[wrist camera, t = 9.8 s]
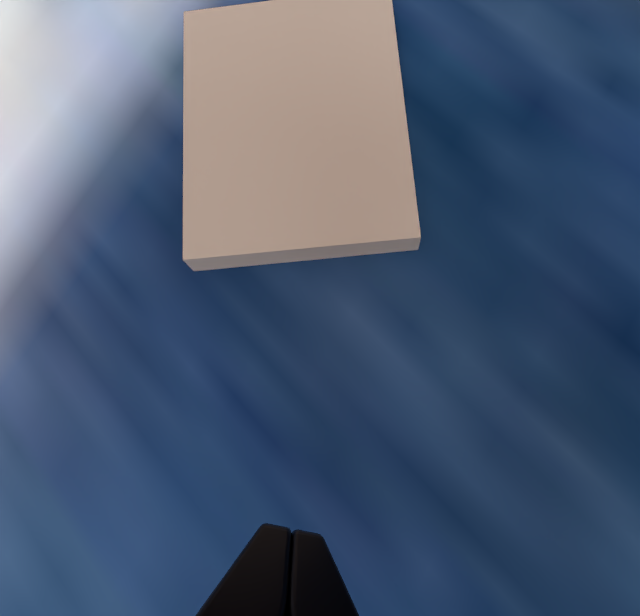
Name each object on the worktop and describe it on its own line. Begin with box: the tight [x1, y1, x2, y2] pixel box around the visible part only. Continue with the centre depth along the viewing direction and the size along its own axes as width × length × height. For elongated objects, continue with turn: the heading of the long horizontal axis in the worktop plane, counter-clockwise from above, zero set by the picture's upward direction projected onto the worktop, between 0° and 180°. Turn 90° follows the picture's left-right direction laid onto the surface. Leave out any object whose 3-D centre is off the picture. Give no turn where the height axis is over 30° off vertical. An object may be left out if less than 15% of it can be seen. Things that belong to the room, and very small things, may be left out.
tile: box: [183, 0, 421, 271], centre depth 18 cm, size 2×7×9 cm
